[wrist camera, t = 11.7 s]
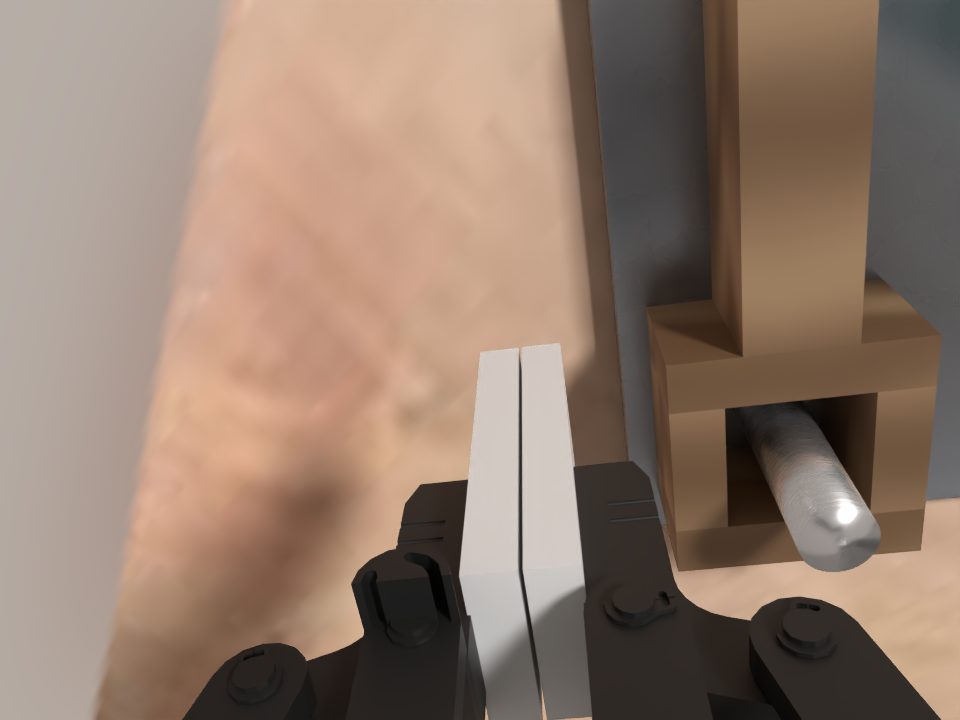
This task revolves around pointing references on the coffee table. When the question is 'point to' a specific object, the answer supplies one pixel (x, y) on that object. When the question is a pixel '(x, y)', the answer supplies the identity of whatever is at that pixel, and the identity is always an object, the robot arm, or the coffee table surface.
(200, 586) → the coffee table surface
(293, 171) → the coffee table surface
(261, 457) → the coffee table surface
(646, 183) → the base
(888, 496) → the link
